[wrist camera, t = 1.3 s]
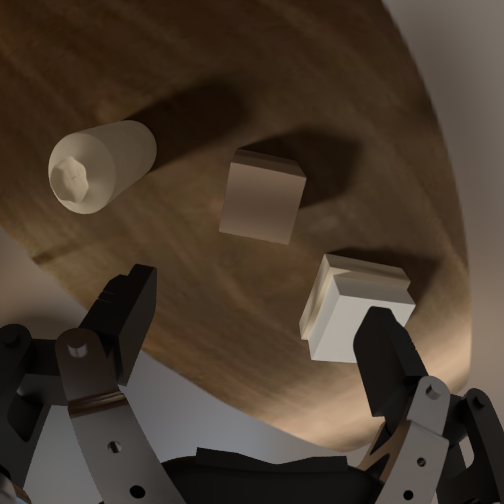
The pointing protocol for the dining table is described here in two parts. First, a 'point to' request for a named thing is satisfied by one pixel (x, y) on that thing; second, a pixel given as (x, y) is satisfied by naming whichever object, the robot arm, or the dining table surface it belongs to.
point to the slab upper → (352, 315)
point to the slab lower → (346, 269)
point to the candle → (100, 164)
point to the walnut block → (262, 196)
